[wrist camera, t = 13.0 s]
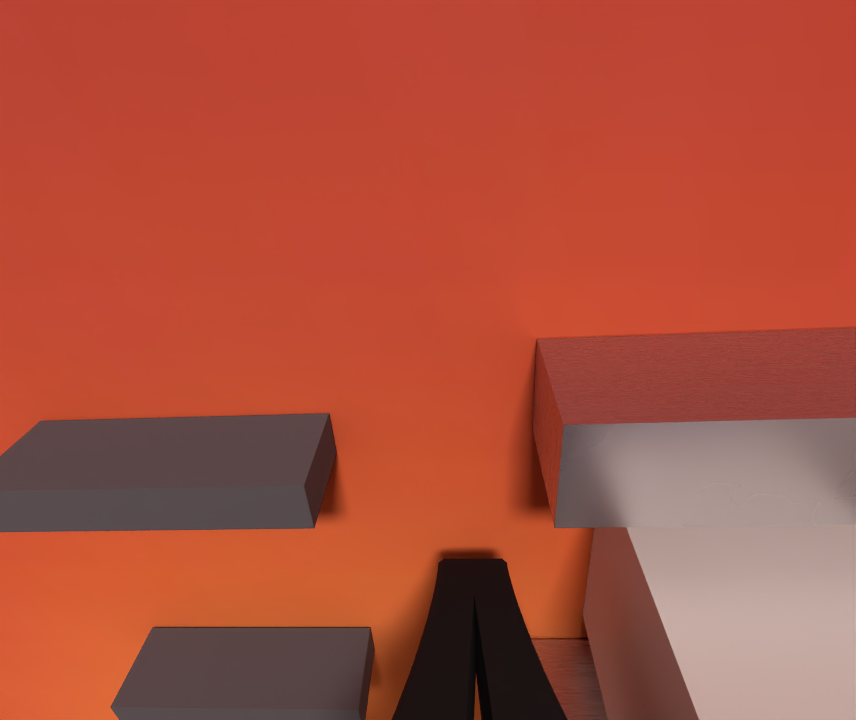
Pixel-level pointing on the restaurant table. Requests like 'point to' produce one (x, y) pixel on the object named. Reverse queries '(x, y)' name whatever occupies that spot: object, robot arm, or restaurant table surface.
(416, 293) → the restaurant table surface
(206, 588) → the restaurant table surface
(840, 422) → the block
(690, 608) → the plug
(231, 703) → the pair of grey blocks
